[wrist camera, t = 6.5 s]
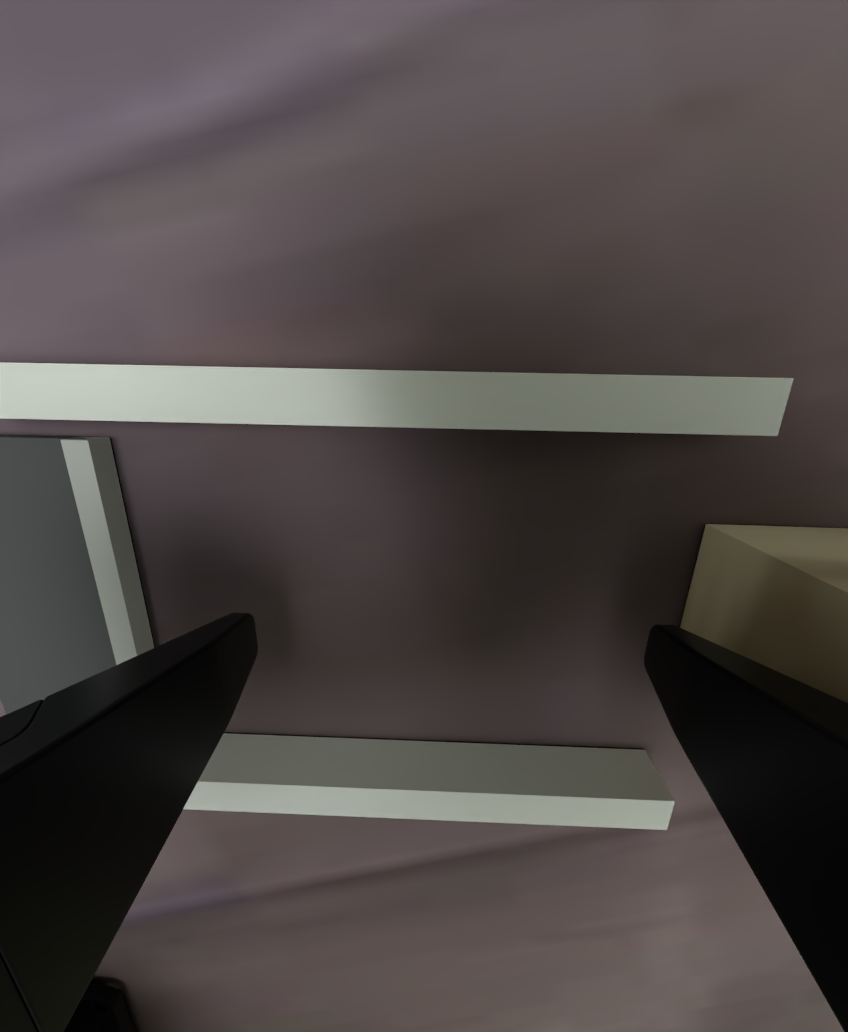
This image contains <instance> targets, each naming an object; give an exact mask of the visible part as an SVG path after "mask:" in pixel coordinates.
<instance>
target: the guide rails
mask: <svg viewBox="0 0 848 1032" xmlns="http://www.w3.org/2000/svg"><path fill="white" fill-rule="evenodd" d="M793 379H794V378H763V377H712V376H662V375H611V374H560V373H510V372H459V371H408V370H358V369H307V368H257V367H206V366H155V365H105V364H54V363H3V362H0V418H5V419H49V420H93V421H137V422H181V423H225V424H269V425H313V426H357V427H401V428H445V429H489V430H533V431H577V432H621V433H665V434H709V435H753V436H778V433H779V429H780V426H781V422H782V418H783V415H784V411H785V408H786V404H787V401H788V397H789V393H790V390H791V386H792V383H793ZM674 803H675V800H674V799H673V797H672V795H671V794H670V792H669V790H668V788H667V787H666V785H665V783H664V782H663V780H662V778H661V776H660V775H659V773H658V771H657V770H656V768H655V766H654V764H653V763H652V761H651V759H650V758H649V756H648V754H647V752H646V751H645V750H637V749H612V748H586V747H560V746H535V745H509V744H483V743H458V742H432V741H406V740H381V739H355V738H329V737H304V736H278V735H253V734H227V733H224V734H223V736H222V737H221V739H220V741H219V743H218V745H217V747H216V749H215V750H214V752H213V754H212V756H211V758H210V760H209V762H208V763H207V765H206V767H205V769H204V771H203V773H202V775H201V777H200V778H199V780H198V782H197V784H196V786H195V788H194V790H193V791H192V793H191V795H190V797H189V799H188V801H187V803H186V805H185V806H184V808H183V809H190V810H213V811H236V812H260V813H283V814H306V815H329V816H352V817H376V818H399V819H422V820H445V821H469V822H492V823H515V824H538V825H561V826H585V827H608V828H631V829H654V830H667V828H668V825H669V821H670V817H671V814H672V810H673V807H674Z"/></svg>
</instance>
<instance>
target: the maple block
mask: <svg viewBox="0 0 848 1032" xmlns="http://www.w3.org/2000/svg"><path fill="white" fill-rule="evenodd" d="M680 628H682V629H684V630H687V631H689V632H691V633H693V634H695V635H698V636H700V637H702V638H704V639H707V640H709V641H711V642H713V643H716V644H718V645H720V646H722V647H724V648H727V649H729V650H731V651H733V652H736V653H738V654H740V655H742V656H744V657H747V658H749V659H751V660H753V661H756V662H758V663H760V664H762V665H764V666H767V667H769V668H771V669H773V670H776V671H778V672H780V673H782V674H784V675H787V676H789V677H791V678H793V679H796V680H798V681H800V682H802V683H804V684H807V685H809V686H811V687H813V688H816V689H818V690H820V691H822V692H825V693H827V694H829V695H831V696H833V697H836V698H838V699H840V700H842V701H845V702H847V703H848V528H819V527H787V526H754V525H722V524H706V526H705V530H704V534H703V538H702V542H701V546H700V550H699V554H698V558H697V562H696V566H695V570H694V574H693V578H692V582H691V586H690V590H689V594H688V598H687V602H686V606H685V610H684V614H683V618H682V621H681V625H680Z"/></svg>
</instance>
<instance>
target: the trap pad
mask: <svg viewBox="0 0 848 1032" xmlns="http://www.w3.org/2000/svg"><path fill="white" fill-rule="evenodd" d="M153 648H154V644H153V639H152V635H151V630H150V625H149V621H148V616H147V611H146V606H145V602H144V597H143V592H142V588H141V583H140V578H139V574H138V569H137V564H136V559H135V555H134V550H133V545H132V541H131V536H130V531H129V527H128V522H127V517H126V513H125V508H124V503H123V498H122V494H121V489H120V484H119V480H118V475H117V470H116V466H115V461H114V456H113V451H112V447H111V442H110V437H73V436H31V435H0V698H1V701H2V703H3V706H4V709H5V712H6V714H9V713H11V712H13V711H15V710H18V709H20V708H22V707H24V706H27V705H29V704H31V703H33V702H35V701H38V700H44V699H45V698H46V697H47V696H49V695H51V694H53V693H56V692H58V691H60V690H62V689H64V688H67V687H69V686H71V685H73V684H76V683H78V682H80V681H82V680H84V679H87V678H89V677H91V676H93V675H96V674H98V673H100V672H102V671H104V670H107V669H109V668H111V667H113V666H116V665H118V664H120V663H122V662H124V661H127V660H129V659H131V658H133V657H135V656H138V655H140V654H142V653H144V652H147V651H149V650H151V649H153Z"/></svg>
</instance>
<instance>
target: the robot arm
mask: <svg viewBox="0 0 848 1032" xmlns="http://www.w3.org/2000/svg"><path fill="white" fill-rule="evenodd" d="M257 651H258V644H257V637H256V629H255V621H254V618H253V616H252V615H251V614H249V613H231V614H229V615H226V616H224V617H222V618H220V619H218V620H215V621H213V622H211V623H209V624H206V625H204V626H202V627H200V628H198V629H195V630H193V631H191V632H189V633H187V634H184V635H182V636H180V637H178V638H175V639H173V640H171V641H169V642H167V643H164V644H162V645H160V646H158V647H155V648H153V649H151V650H149V651H147V652H144V653H142V654H140V655H138V656H135V657H133V658H131V659H129V660H127V661H124V662H122V663H120V664H118V665H116V666H113V667H111V668H109V669H107V670H104V671H102V672H100V673H98V674H96V675H93V676H91V677H89V678H87V679H84V680H82V681H80V682H78V683H76V684H73V685H71V686H69V687H67V688H64V689H62V690H60V691H58V692H56V693H53V694H51V695H49V696H47V697H46V698H45V699H44V700H38V701H35V702H33V703H31V704H29V705H27V706H24V707H22V708H20V709H18V710H15V711H13V712H11V713H9V714H6V715H4V716H2V717H0V1032H134V1029H133V1027H132V1024H131V1021H130V1018H129V1015H128V1012H127V1009H126V1006H125V1003H124V1001H123V998H122V995H121V993H120V991H119V990H118V989H116V988H114V987H112V986H108V985H93V984H90V982H91V980H92V978H93V976H94V974H95V972H96V970H97V969H98V967H99V965H100V963H101V961H102V959H103V957H104V956H105V954H106V952H107V950H108V948H109V946H110V944H111V943H112V941H113V939H114V937H115V935H116V933H117V931H118V929H119V928H120V926H121V924H122V922H123V920H124V918H125V916H126V915H127V913H128V911H129V909H130V907H131V905H132V903H133V901H134V900H135V898H136V896H137V894H138V892H139V890H140V888H141V887H142V885H143V883H144V881H145V879H146V877H147V875H148V874H149V872H150V870H151V868H152V866H153V864H154V862H155V860H156V859H157V857H158V855H159V853H160V851H161V849H162V847H163V846H164V844H165V842H166V840H167V838H168V836H169V834H170V832H171V831H172V829H173V827H174V825H175V823H176V821H177V819H178V818H179V816H180V814H181V812H182V810H183V808H184V806H185V805H186V803H187V801H188V799H189V797H190V795H191V793H192V791H193V790H194V788H195V786H196V784H197V782H198V780H199V778H200V777H201V775H202V773H203V771H204V769H205V767H206V765H207V763H208V762H209V760H210V758H211V756H212V754H213V752H214V750H215V749H216V747H217V745H218V743H219V741H220V739H221V737H222V736H223V734H224V732H225V730H226V728H227V726H228V724H229V722H230V719H231V717H232V715H233V713H234V710H235V708H236V705H237V703H238V701H239V698H240V696H241V693H242V691H243V688H244V686H245V683H246V681H247V679H248V676H249V674H250V671H251V669H252V666H253V664H254V661H255V659H256V656H257ZM644 664H645V668H646V671H647V673H648V675H649V678H650V680H651V682H652V684H653V687H654V689H655V691H656V693H657V695H658V698H659V700H660V702H661V704H662V707H663V709H664V711H665V713H666V715H667V718H668V720H669V722H670V724H671V727H672V729H673V731H674V733H675V735H676V737H677V739H678V741H679V742H680V744H681V746H682V748H683V750H684V752H685V753H686V755H687V757H688V759H689V760H690V762H691V764H692V766H693V767H694V769H695V771H696V773H697V774H698V776H699V778H700V780H701V781H702V783H703V785H704V787H705V788H706V790H707V792H708V794H709V795H710V797H711V799H712V801H713V802H714V804H715V806H716V808H717V809H718V811H719V813H720V815H721V816H722V818H723V820H724V822H725V823H726V825H727V827H728V829H729V830H730V832H731V834H732V836H733V837H734V839H735V841H736V843H737V844H738V846H739V848H740V850H741V851H742V853H743V855H744V857H745V858H746V860H747V862H748V864H749V865H750V867H751V869H752V871H753V872H754V874H755V876H756V878H757V879H758V881H759V883H760V885H761V886H762V888H763V890H764V892H765V893H766V895H767V897H768V899H769V900H770V902H771V904H772V906H773V907H774V909H775V911H776V913H777V914H778V916H779V918H780V920H781V921H782V923H783V925H784V927H785V928H786V930H787V932H788V934H789V935H790V937H791V939H792V941H793V942H794V944H795V946H796V948H797V949H798V951H799V953H800V955H801V956H802V958H803V960H804V962H805V963H806V965H807V967H808V969H809V970H810V972H811V974H812V976H813V977H814V979H815V981H816V983H817V984H818V986H819V988H820V990H821V991H822V993H823V995H824V997H825V998H826V1000H827V1002H828V1004H829V1005H830V1007H831V1009H832V1011H833V1012H834V1014H835V1016H836V1018H837V1019H838V1021H839V1023H840V1025H841V1026H842V1028H843V1030H844V1032H848V703H847V702H845V701H842V700H840V699H838V698H836V697H833V696H831V695H829V694H827V693H825V692H822V691H820V690H818V689H816V688H813V687H811V686H809V685H807V684H804V683H802V682H800V681H798V680H796V679H793V678H791V677H789V676H787V675H784V674H782V673H780V672H778V671H776V670H773V669H771V668H769V667H767V666H764V665H762V664H760V663H758V662H756V661H753V660H751V659H749V658H747V657H744V656H742V655H740V654H738V653H736V652H733V651H731V650H729V649H727V648H724V647H722V646H720V645H718V644H716V643H713V642H711V641H709V640H707V639H704V638H702V637H700V636H698V635H695V634H693V633H691V632H689V631H687V630H684V629H682V628H680V627H678V626H675V625H662V624H657V625H654V626H652V628H651V629H650V632H649V637H648V642H647V646H646V651H645V656H644Z"/></svg>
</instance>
